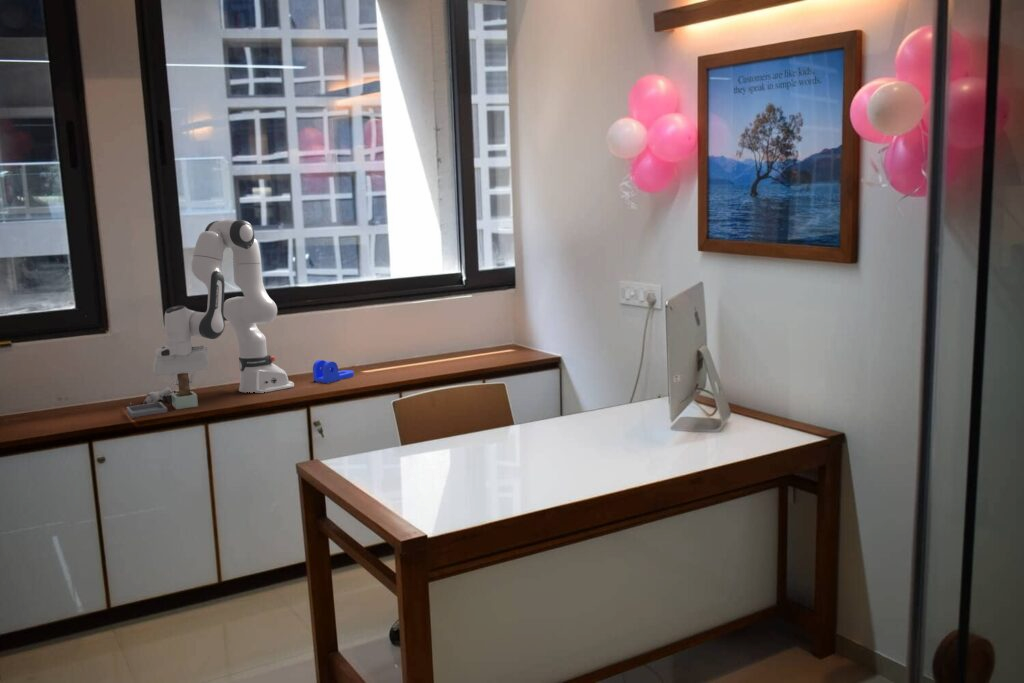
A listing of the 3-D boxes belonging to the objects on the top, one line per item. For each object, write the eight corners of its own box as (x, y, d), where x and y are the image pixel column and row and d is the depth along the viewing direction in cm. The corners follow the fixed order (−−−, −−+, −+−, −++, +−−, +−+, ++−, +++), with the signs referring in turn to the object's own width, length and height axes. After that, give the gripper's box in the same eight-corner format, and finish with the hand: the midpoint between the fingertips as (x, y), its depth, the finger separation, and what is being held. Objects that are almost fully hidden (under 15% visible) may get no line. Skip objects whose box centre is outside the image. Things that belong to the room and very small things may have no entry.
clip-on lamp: (145, 419, 358) (185, 399, 371) (141, 404, 355) (181, 385, 368) (129, 412, 365) (169, 393, 378) (124, 398, 362) (165, 379, 375)
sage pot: (193, 404, 365) (192, 391, 364) (198, 408, 358) (196, 394, 357) (172, 407, 361) (171, 394, 360) (176, 411, 354) (175, 397, 353)
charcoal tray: (161, 408, 361) (160, 402, 361) (167, 414, 350) (167, 408, 350) (127, 413, 355) (126, 407, 354) (132, 419, 344) (131, 413, 344)
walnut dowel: (190, 401, 362) (186, 372, 360) (192, 403, 359) (189, 374, 357) (179, 402, 360) (176, 373, 358) (181, 404, 357) (178, 375, 355)
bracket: (326, 383, 396) (325, 363, 394) (313, 381, 401) (312, 361, 399) (357, 376, 410) (356, 356, 408) (345, 374, 415) (343, 354, 413)
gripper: (205, 343, 363) (209, 378, 366) (150, 350, 353) (154, 386, 356) (209, 346, 358) (213, 381, 361) (153, 353, 348) (157, 389, 351)
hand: (183, 383), depth 358 cm, fingers closed on walnut dowel, 4 cm apart
